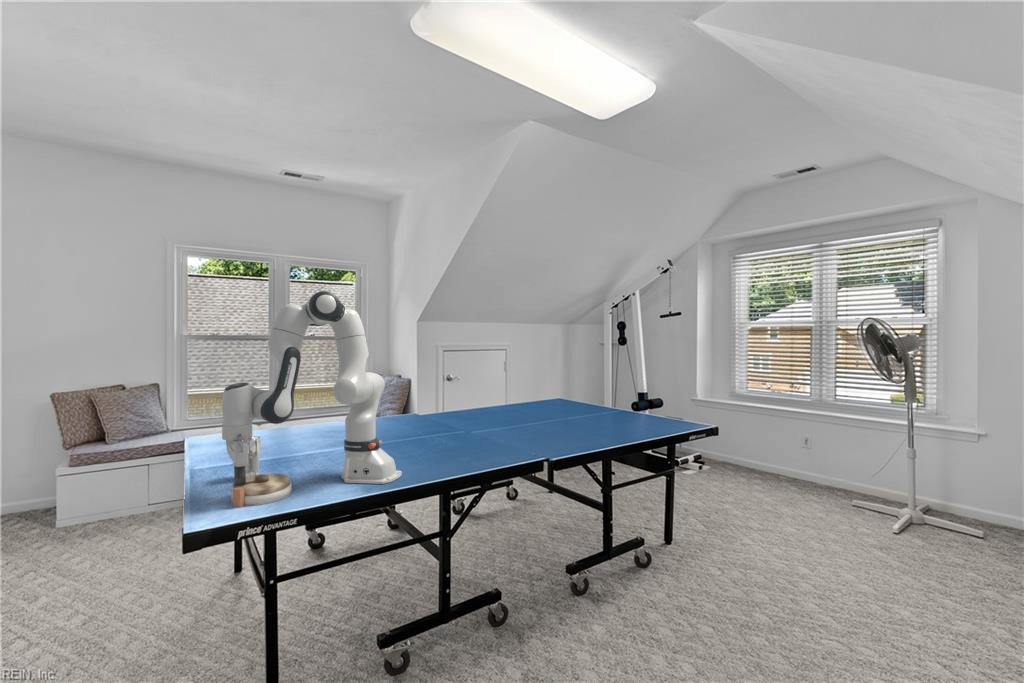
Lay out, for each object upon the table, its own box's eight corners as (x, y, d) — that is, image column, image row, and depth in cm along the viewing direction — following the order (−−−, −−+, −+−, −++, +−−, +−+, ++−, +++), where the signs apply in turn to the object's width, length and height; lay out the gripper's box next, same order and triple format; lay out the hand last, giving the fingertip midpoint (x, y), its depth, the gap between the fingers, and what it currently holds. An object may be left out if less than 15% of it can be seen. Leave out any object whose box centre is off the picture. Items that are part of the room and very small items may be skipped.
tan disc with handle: (282, 476, 179) (282, 454, 179) (295, 488, 165) (295, 464, 165) (229, 485, 168) (228, 461, 168) (237, 499, 155) (237, 473, 155)
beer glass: (235, 479, 185) (235, 439, 184) (251, 474, 191) (251, 435, 191) (249, 481, 182) (249, 440, 182) (265, 476, 189) (264, 436, 188)
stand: (303, 489, 173) (302, 474, 173) (260, 509, 154) (259, 492, 154) (260, 485, 178) (260, 469, 178) (213, 503, 159) (213, 486, 159)
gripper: (253, 437, 158) (253, 480, 159) (243, 426, 175) (243, 465, 175) (230, 439, 155) (231, 483, 155) (222, 428, 171) (222, 468, 172)
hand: (237, 473), depth 165 cm, fingers closed
